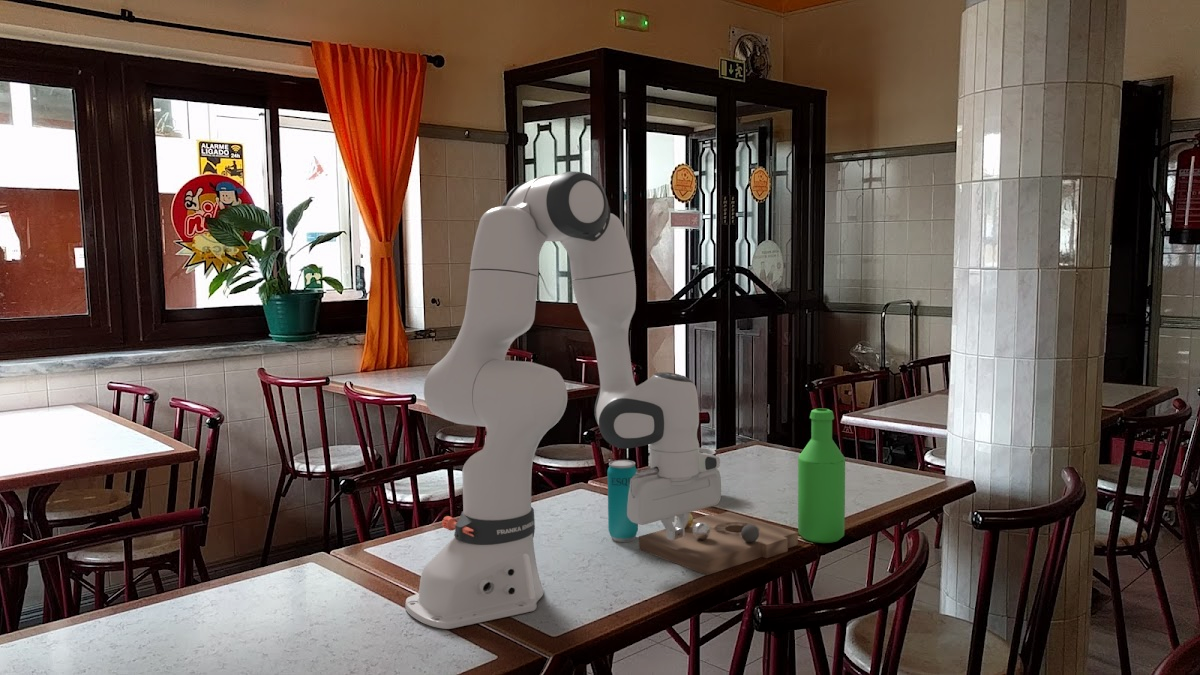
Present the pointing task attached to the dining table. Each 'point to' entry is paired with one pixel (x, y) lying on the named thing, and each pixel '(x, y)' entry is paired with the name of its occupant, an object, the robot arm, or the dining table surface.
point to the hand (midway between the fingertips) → (675, 538)
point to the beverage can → (620, 500)
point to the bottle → (821, 483)
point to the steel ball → (701, 530)
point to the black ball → (750, 533)
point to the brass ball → (689, 521)
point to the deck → (719, 543)
